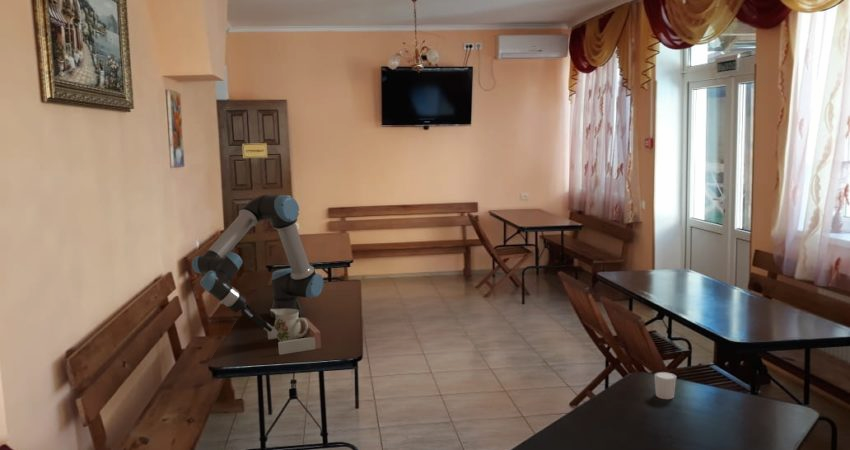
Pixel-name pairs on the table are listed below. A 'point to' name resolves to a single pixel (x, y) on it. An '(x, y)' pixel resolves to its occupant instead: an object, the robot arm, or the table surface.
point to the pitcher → (288, 324)
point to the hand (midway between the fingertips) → (276, 334)
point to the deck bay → (301, 340)
